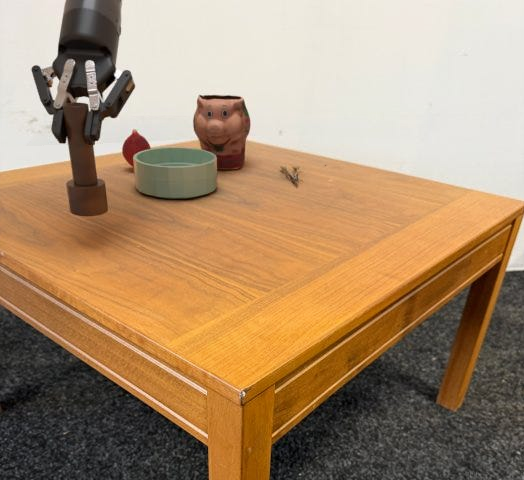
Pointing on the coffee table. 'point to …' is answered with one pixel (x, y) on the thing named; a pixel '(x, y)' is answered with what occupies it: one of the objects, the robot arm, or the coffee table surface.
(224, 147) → the decorative planter
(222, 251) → the coffee table surface
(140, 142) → the onion
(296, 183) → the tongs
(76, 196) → the pestle
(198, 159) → the bowl
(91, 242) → the coffee table surface
